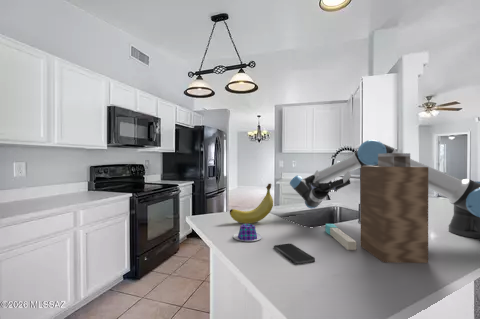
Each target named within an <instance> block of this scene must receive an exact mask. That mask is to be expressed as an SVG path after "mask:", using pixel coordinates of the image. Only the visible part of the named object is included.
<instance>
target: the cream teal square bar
mask: <svg viewBox="0 0 480 319" xmlns="http://www.w3.org/2000/svg"><path fill="white" fill-rule="evenodd" d="M324 228H325V231H324V232H325V233H327V234H328V235H330V236H331V238H332V237H333V239H335V241H337V242H338V243H339V244H340V245H342V246H343V248H345V250H347V251H357V240H355V239H353V237H351V236H349V235H348V234H347V233H345V232H344V231H343V230H341V229H340V228H339V227H338V226H337V225H336V224H334V223H325V227H324Z"/></svg>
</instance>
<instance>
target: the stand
mask: <svg viewBox="0 0 480 319" xmlns="http://www.w3.org/2000/svg"><path fill="white" fill-rule="evenodd" d="M393 157H394V166H393ZM410 159H411V153H410V152H409V153H403V152H401V153H399V152H397V153H384V154H378V166H361V168H360V248H362V249H364V250H366V251H367V252H368V253H370V255H371V256H372V255H373V256H374V257H375V258H376V259H378V260H379V261H381V262H382V263H396V264H397V263H399V264H400V263H401V264H403V263H404V264H405V263H406V264H407V263H409V264H410V263H411V264H412V263H413V264H414V263H416V264H425V263H426V264H428V263H429V189H428V167H410Z"/></svg>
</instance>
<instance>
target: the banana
mask: <svg viewBox="0 0 480 319" xmlns="http://www.w3.org/2000/svg"><path fill="white" fill-rule="evenodd" d="M265 188H266V194H265V196H264V197H263V199H262V200H261V202H260V203H259V205H258V206H256V207H255V208H253V209H251V210H247V211H246V210H244V211H243V210H240V209H235V208H232V209H230V210H229V215H230V217H231V218H232V219H233V220H234V221H235V222H237V223H241V224H255V223H258V222H260V221H262V220H264V218H266V217H267V216H268V215H269V214H270V213H271V211H272V210H273V207H274V199H273V197H272V194H271V189H272V183H267V186H266V187H265Z"/></svg>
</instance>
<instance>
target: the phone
mask: <svg viewBox="0 0 480 319" xmlns="http://www.w3.org/2000/svg"><path fill="white" fill-rule="evenodd" d="M273 250H275V251H276V252H277V253H279V254H280V255H281V256H283V257H284V258H285V259H286V260H288V262H290V263H292V264H293V265H296V266H298V265H304V264H310V263H311V264H312V263H315V262H316V258H315V256H312V255H311V254H309V253H307V252H306V251H304V250H302V249H301V248H299V247H298V246H296V245H294V243H282V244H276V245H275V244H274V245H273Z"/></svg>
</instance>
